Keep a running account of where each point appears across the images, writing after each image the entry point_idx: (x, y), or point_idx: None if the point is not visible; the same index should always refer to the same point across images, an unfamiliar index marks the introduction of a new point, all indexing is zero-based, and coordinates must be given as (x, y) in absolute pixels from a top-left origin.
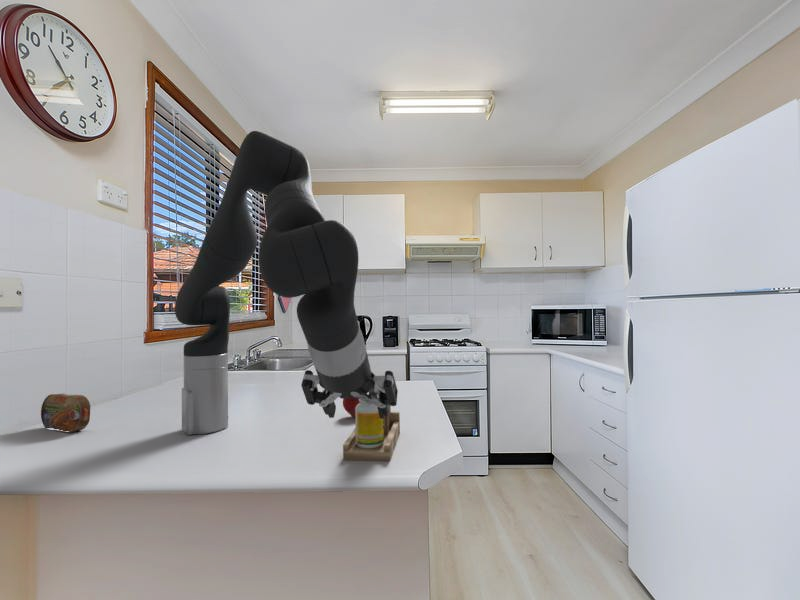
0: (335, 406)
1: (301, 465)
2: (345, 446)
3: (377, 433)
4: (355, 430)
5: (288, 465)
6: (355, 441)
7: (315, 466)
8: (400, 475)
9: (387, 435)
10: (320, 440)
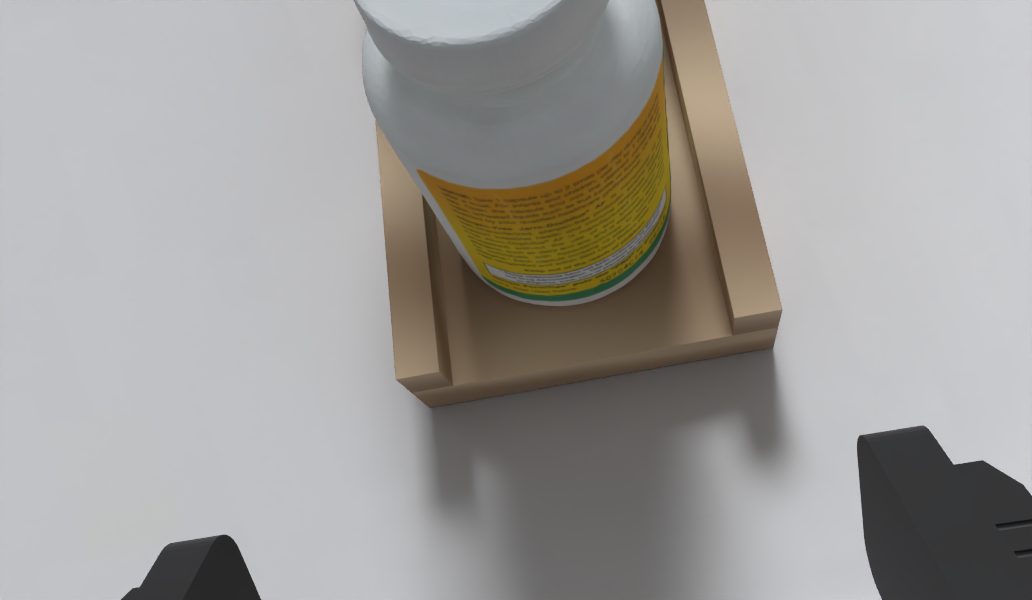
0: (217, 552)
1: None
2: (419, 380)
3: (643, 221)
4: None
5: (98, 587)
6: None
7: (281, 563)
8: None
9: None
10: (165, 129)
